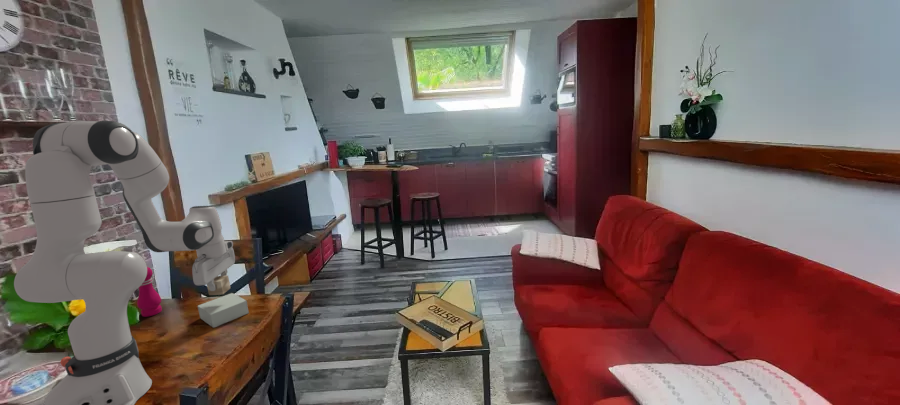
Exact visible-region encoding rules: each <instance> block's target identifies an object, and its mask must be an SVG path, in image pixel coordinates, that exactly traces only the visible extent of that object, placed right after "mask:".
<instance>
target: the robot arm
mask: <svg viewBox="0 0 900 405" xmlns="http://www.w3.org/2000/svg"><path fill="white" fill-rule="evenodd" d="M32 149H33V150H32V156H30V157H29V158H28V159H27V160H26V161H25V166H24V167H25V168H24V169H25V170H24V172H25V173H24V174H25V186H26V193H27V197H28V201H29V204H30V208H31V212H32V216H33V220H34V225H35V230H36V244H35V249H34V250H33V253H32V256H31V257H30V259H29V260H28V261H27V262H26V263H25V264H24V265H23V266H22V267H20V268H19V270H18V271H17V272H16V274H15V275H14V276H15V277H14V280H13V287H14V290H15V293H16V294H17V296H18V297H19V298H20V299H22V300H23V301H25V302H29V303H41V304H42V303H45V304H46V303H47V304H51V303H52V304H55V303H64V302H71V301H78V300H79V301H80V300H83V302H84V305H85V309H84V310H85V311H84V312H82V313H80V314H78V316H75V318H74V319H72V321H71V322H70V323H69V326H68V328H67V335H68V339H69V342H70V346H71V349H72V351H73V352H72V353H73V354H74V355H73V356H72V357H71V356H64V357H63V358H61V360H60V361H59V362H60V364H61V366H62V367H63V368H65V370H66V373H67V374H66V375H65V376H64V377H63V378H62V379H61V380H60V381H59V382H58V383H57V384H56V385H55V386H54V387H53V388H52V389H51V390H50V391H48V393H47V395H46V396H45V399H44V400H43V405H135V404H136V403H137V401H138V400H139V399H140V398H142V397H143V396H144V395H145V394H146V393H147V392H148V391H149V389H150V388H151V387H152V383H153V380H152V378H150V376H149V375H148V374H147V372H146V370H145V368H144V367H143V365H142V363H141V360H140V358H139V357H140V355H139V348H138V344H137V340H136V339H135V338H134V336H133V335H132V333H131V328H130V324H129V323H130V322H129V318H128V304H129V301H130V299H131V297H132V295H133V294H134V293H135V292H136V291H137V290H139V287H140V286H141V285H142V283H143V282H144V280H145V278H146V276H147V267H148V266H147V263H146V261H145V259H144V258H143V257H142V255H141V254H139V253H137V252H135V251H125V250H107V251H99V252H97V251H96V252H89V253H88V252H87V253H85V248H84V247H85V246H84V244H85V242H86V239H89V238H90V237H92V236H93V235H94V234H96V233H97V232H98V231H99V230H100V228H101V226H102V223H103V222H102V221H103V220H102V216H101V213H100V209H99V205H98V200H97V197H96V193H95V189H94V185H93V183H92V180H91V177H90V174H91V169H92V167H96V166H97V167H98V166H105V165H108V166H109V167H110V168H111V169H112V171H113V173H114V174H115V175H116V177H117V179H118V180H119V181H120V183H121V185H122V187H123V188H122V197H123V199H124V202H125V204H126V206H127V207H128V208H127V209H128V210H129V212H130V213H131V214H132V217H133V218H134V220H135V222H136V223H137V225H138V227H139V229H140V231H141V234H142V237H143V241H144V244H145V246H146V247H147V248H148V249H149V250H151V251H152V252H154V253H166V252H184V251H187V252H188V251H196V256H197V258H195V260H194V262H193V264H192V267H191V268H192V269H191V270H192V271H191V272H192V274H191V275H192V280H193V284H194V285H195V286H207V285H208V286H209V288H210V291H215V290H216V289H217V284H216V285H215V284H214V283H213V282H214V278H216V277H217V276H228V269H230V268H231V267H232V266H234V265H235V262H236V256H235V251H234V248H233V246H234V242H233V241H232V240H226V241H225V239H224V235H223V234H222V229H223V228H222V224H221V223H222V222H221V220H220V219H221V218H220V215H219V212H218V211H217V209H216V207H215V206H213V205H195V206H190V208H189V212H188V214H187V215H186V216H185V217H184V219H182V220H180V221H170V220H169V221H168V220H165V219H163V218H162V217H161V216H160V214H159V213H158V210H157V208H156V207H155V205H154V202H153V198H155V197H157V196H158V195H160V194H161V193H163V191H164V190H165V189H166V188H167V186H169V182H170V174H169V171H168V169H167V167H166V165H165V164H164V163H163V161H162V160H161V158H160V157H159V155H158V153H156V151H155V150H154V149H153V147H152V146H151V145H150V144H149V143H148V141H147V140H146V139H144V138H143V137H142V136H141V135H140V134H139V133H137V132H135V131H132V130H131V128H130V127H128V126H127V125H126V124H123V123H121V122H117V121H113V120H98V121H97V120H72V121H67V122H61V123H60V122H59V123H58V122H57V123H55V122H54V123H51V124H47V125H45V126H43V127H41V128H39V129H38V130H36V132H35V134H34V135H33V139H32Z"/></svg>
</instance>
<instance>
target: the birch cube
mask: <svg viewBox="0 0 900 405" xmlns="http://www.w3.org/2000/svg"><path fill="white" fill-rule="evenodd" d="M213 283H214V284H215V285H216V284H217V289H216V290H215V291H210V288H209V286H208V285H207V284H206V286H207V291H208V296H219V295H225V293H226V292H228V291H229V290H230V289H232V288H231V283H230V279H229V275H227V276H221V275H218V276H217V277H216V278H214V282H213Z"/></svg>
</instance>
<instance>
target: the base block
mask: <svg viewBox="0 0 900 405" xmlns="http://www.w3.org/2000/svg"><path fill="white" fill-rule="evenodd" d="M248 307H249V306H248V302H247V300H246V299H244V298H243V297H241V296H239V295H237V294H235V293H234V292H231V293H228V294H224V295H222V296H220V297H218V298H215V299H211V300H209V301H206V302H203V303H201V304H199V305H197V310H198V314H199V318H200V319H201V320H202V321H204V323H206V324H208V325H209V326H210V327H212V328H213V329H214V328H216V327H217V328H218V327H219V326H222V325H223V324H226V323H228V322H231V321H233V320H236V319H238V318H240V317H242V316H245V315H248V314H249V313H250V312H249V308H248Z"/></svg>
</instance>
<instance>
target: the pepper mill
mask: <svg viewBox="0 0 900 405" xmlns="http://www.w3.org/2000/svg"><path fill="white" fill-rule="evenodd" d="M152 276H153V269H151V267H149V266H147V276H146V278H145V280H144V282H143V283H142V285H141V286H140V287H139V288H138V298H137V299H136V301H137V303H136V305H137V308H139V309H140V314H141V316H142V317H146V318H147V317H152V316H155V315H157V314H159V313H161V312H162V311H163V308H162V305H161V302H162V296H161V295H160V294H159V293H158V292H157V291H156V289H155V288H154V286H153V282H154V280H153V277H152Z"/></svg>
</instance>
